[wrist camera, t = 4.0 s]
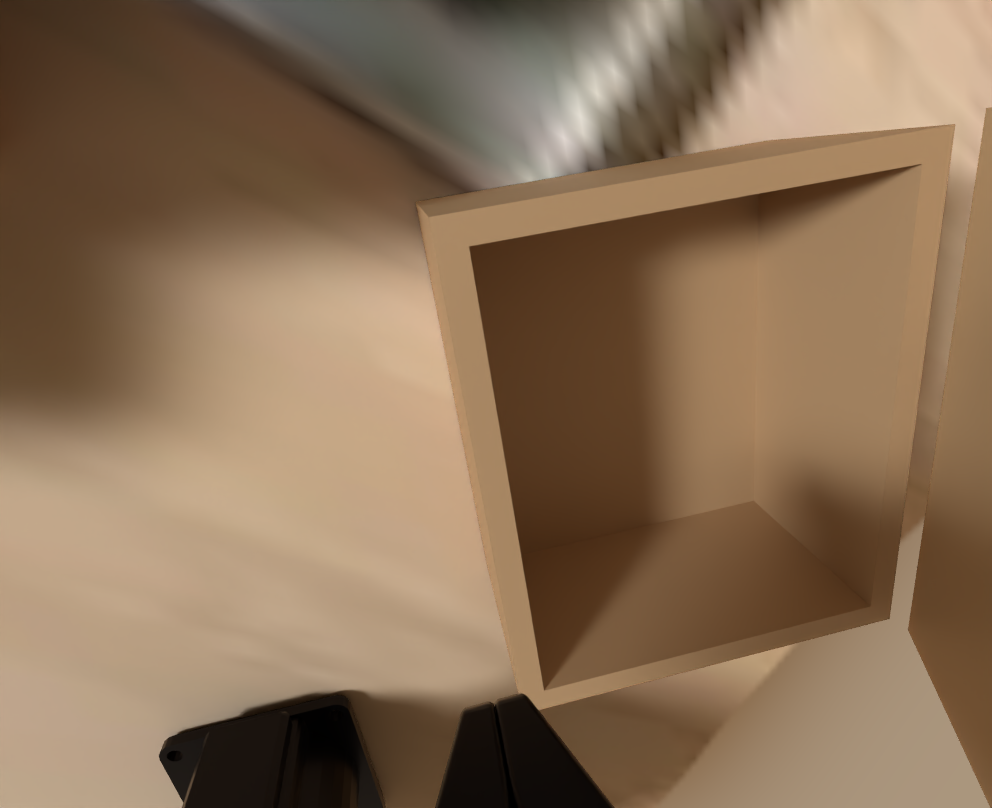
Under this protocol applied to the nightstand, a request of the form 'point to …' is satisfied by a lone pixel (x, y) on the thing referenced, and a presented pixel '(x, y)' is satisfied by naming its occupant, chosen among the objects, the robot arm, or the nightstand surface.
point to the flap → (963, 505)
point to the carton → (690, 396)
